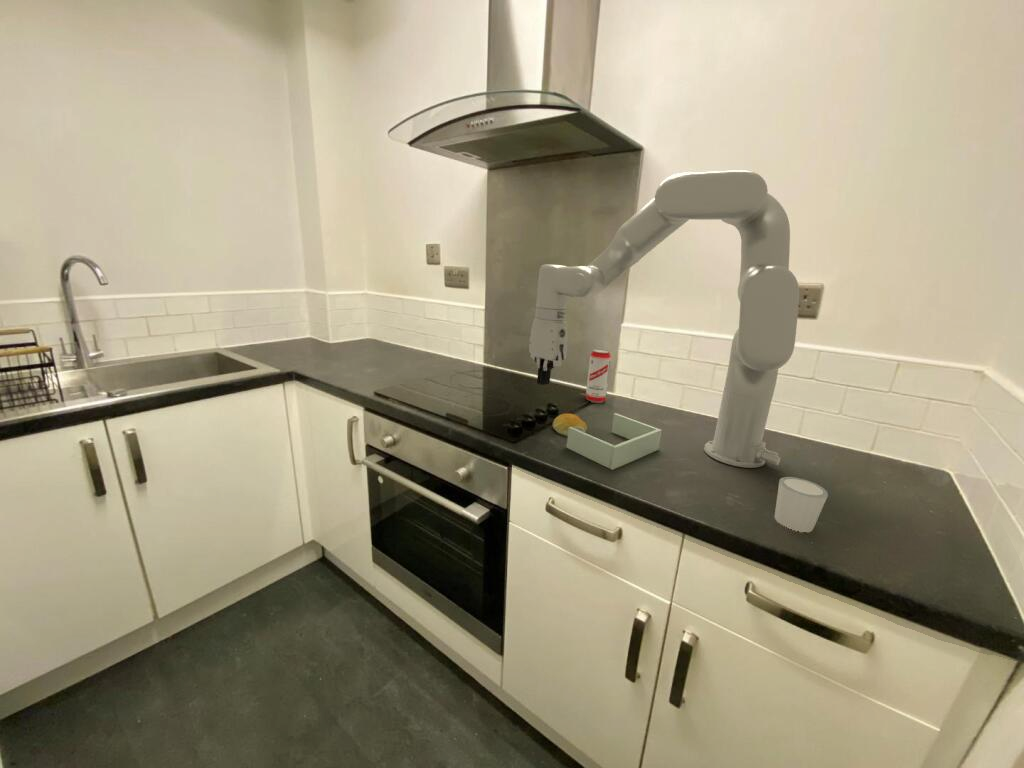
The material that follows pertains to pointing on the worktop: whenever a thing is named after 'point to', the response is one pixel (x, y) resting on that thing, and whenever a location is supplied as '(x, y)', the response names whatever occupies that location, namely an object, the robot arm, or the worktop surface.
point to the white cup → (799, 503)
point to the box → (610, 456)
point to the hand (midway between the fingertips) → (543, 383)
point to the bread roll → (568, 423)
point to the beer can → (598, 375)
